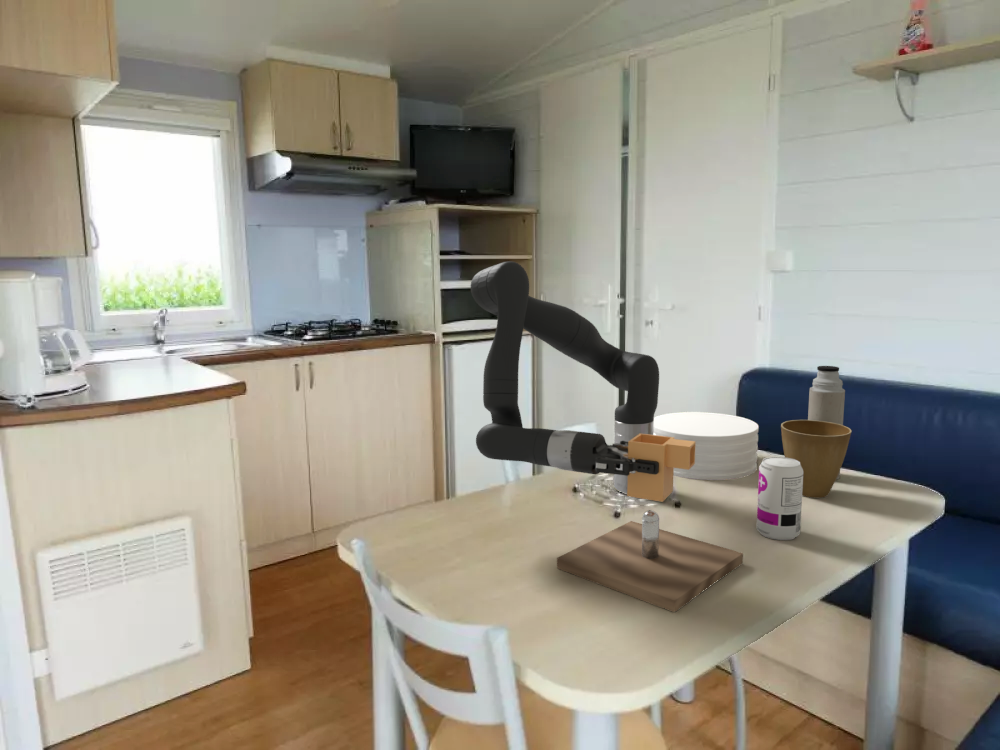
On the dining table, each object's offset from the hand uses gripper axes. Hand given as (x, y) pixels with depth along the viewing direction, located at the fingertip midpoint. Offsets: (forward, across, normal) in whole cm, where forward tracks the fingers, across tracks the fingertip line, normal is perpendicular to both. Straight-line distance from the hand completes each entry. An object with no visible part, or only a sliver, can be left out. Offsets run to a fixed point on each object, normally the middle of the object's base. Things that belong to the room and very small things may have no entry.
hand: (664, 462), depth 122 cm
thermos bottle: (+21, +71, +19) cm, 76 cm away
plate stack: (-9, +68, +20) cm, 72 cm away
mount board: (-2, 0, +20) cm, 20 cm away
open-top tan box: (0, 0, +6) cm, 6 cm away
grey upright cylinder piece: (-2, 0, +18) cm, 18 cm away
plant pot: (+20, +55, +20) cm, 62 cm away
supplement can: (+16, +26, +20) cm, 37 cm away
